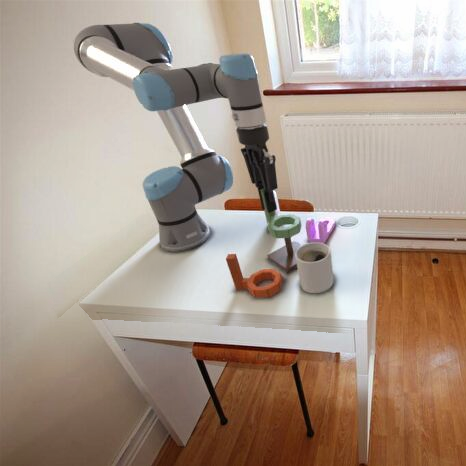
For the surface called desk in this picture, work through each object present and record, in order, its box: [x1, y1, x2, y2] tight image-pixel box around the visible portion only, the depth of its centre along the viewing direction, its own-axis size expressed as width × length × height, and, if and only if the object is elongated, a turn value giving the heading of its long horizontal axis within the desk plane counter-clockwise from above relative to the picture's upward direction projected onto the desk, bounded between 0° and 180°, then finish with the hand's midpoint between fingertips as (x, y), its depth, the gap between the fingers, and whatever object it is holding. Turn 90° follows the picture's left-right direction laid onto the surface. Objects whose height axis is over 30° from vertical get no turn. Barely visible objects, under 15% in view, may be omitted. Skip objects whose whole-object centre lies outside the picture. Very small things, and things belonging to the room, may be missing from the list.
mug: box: [295, 242, 335, 294], centre depth 85 cm, size 11×10×10 cm
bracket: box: [305, 217, 336, 244], centre depth 106 cm, size 13×6×7 cm, turn 163°
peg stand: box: [266, 237, 303, 274], centre depth 94 cm, size 10×10×10 cm
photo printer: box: [263, 190, 282, 233], centre depth 110 cm, size 10×4×12 cm, turn 8°
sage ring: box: [260, 188, 302, 239], centre depth 89 cm, size 12×8×10 cm
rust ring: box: [225, 253, 283, 299], centre depth 84 cm, size 12×8×10 cm
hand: (269, 209), depth 93 cm, fingers closed on sage ring, 2 cm apart
